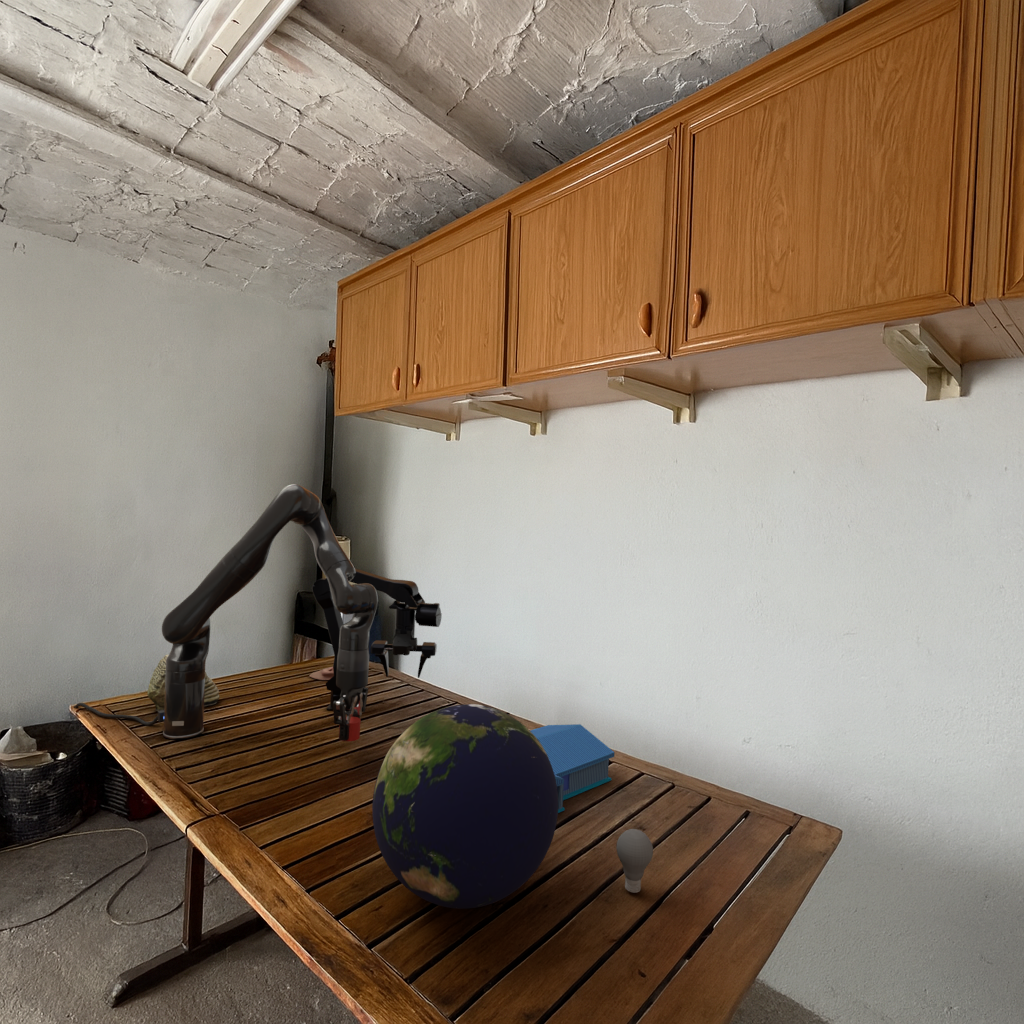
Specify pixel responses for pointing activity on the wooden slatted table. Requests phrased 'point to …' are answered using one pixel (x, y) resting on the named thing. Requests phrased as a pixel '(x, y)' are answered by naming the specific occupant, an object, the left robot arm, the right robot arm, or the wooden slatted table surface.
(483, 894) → the globe
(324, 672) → the anatomical model
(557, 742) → the model building
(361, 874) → the wooden slatted table surface
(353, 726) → the canister
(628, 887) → the light bulb
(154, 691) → the fossil
